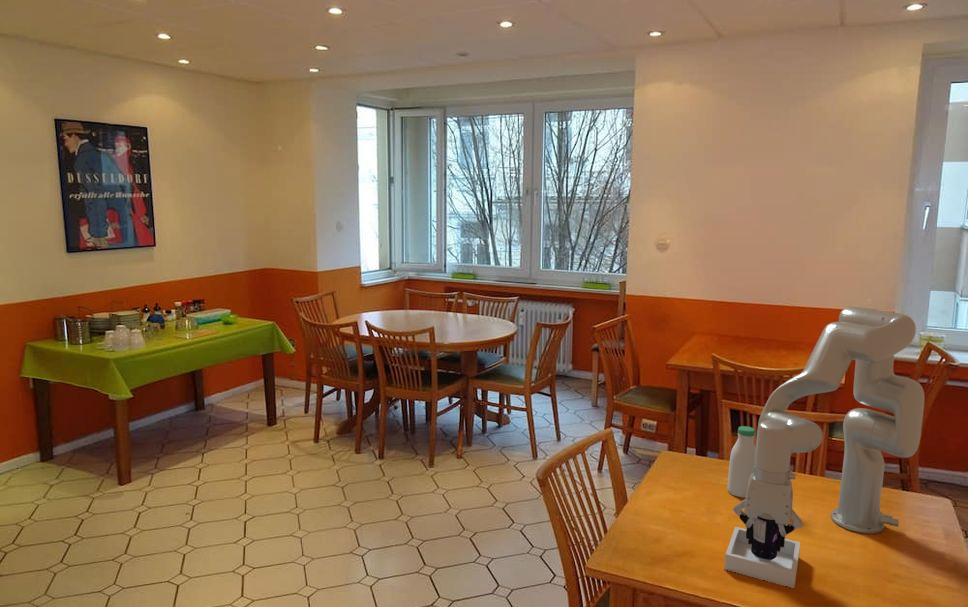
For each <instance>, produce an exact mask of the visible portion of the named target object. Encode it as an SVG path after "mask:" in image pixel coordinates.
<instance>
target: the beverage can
mask: <svg viewBox="0 0 968 607" xmlns="http://www.w3.org/2000/svg"><path fill="white" fill-rule="evenodd" d="M779 531H780V530H779V527H778V524H777V523H776V522H775V520H774V518H772V517H771V514H766V513H762V515H759V516H758V517H757V519H755V520H754V522H753V535H752V546H751V552H752V553H753V554H754V556H755V557H756V558H758V559H760V560H763V561H771V560H773V559H774V558H776V557H777V541H778V534H779Z"/></svg>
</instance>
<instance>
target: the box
mask: <svg viewBox="0 0 968 607" xmlns="http://www.w3.org/2000/svg"><path fill="white" fill-rule="evenodd" d="M746 530H747V528H743V527H738V526H735V527H734V529H733V532H732V535H731V538H730V541H729V544H728V546H727V548H726V552H725V558H724V571H727V570H728V572H730V571H732V572H731V573H734V572H736V573H735V574H738V573H739V575H741V574H742V576H745V575H746V577H749V576H750V578H752V577H754V578H753V579H756V578H757V579H758V580H761V581H763V580H765V582H767V581H768V583H771V582H772V583H771V584H774V583H776V584H775V585H778V584H780V585H779V586H782V585H784V586H783V587H785V586H788V587H787V588H789V587H791V588H790V589H793V588H794V589H795V586H796V579H797V573H798V565H799V559H800V558H799V557H800V551H801V550H800V549H801V541H797V540H792V539H788V538H785V542H784V548H783V547H781V549H780V552H779V551H777V557H776V558H774V559H773V560H771V561H763V560H760V559H758V558H756V557H755V556H754V554H753V553H752V552H751V546H752V544H748V540H749V539H747V538H746Z"/></svg>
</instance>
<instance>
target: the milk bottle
mask: <svg viewBox="0 0 968 607" xmlns="http://www.w3.org/2000/svg"><path fill="white" fill-rule="evenodd" d="M737 435H738V436H737V440H736V442H735V444H734V445H733V447H732V448H731V451H730V458H729V465H728V476H727V491H728V493H729V494H731V495H732V496H734V497H736V498H737V497H738V498H742V499H745V498H746V492H747V486H748V482H749V478H750V475H751V474H752V473H754V464H755V453H756V444H755V440H754V439H755V435H756V430H755V428H753V427H751V426H746V425H745V426H744V425H742V426H738V429H737Z"/></svg>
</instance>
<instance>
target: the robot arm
mask: <svg viewBox="0 0 968 607" xmlns="http://www.w3.org/2000/svg"><path fill="white" fill-rule="evenodd" d="M916 332H917V326H916V323H915V321H914V320H913V319H912V317H910V316H909V315H906V314H904V313H898V312H891V311H886V310H881V309H880V310H879V309H874V308H868V307H861V306H848V307H845V308H844V309H842V310H841V311H840V312H839V316H838V321H834V322H833V321H832V322H831V323H828V324H827V325H825V327H824V328H823V329H822V332H821V334H820V336H819V338H818V340H817V341H816V344H815V345H814V348H813V350H812V351H811V354H810V356H809V358H808V360H807V362H806V363H805V366H804V368H803V370H802V371H801V372H800V373H799V374H797V375H796V376H794V377H792V378H790V379H788V380H786V381H785V382H784V383H782V384H781V385H779V386H778V387H777V388H776V389H774V391H772V393H771V394H770V395H769V396H768V399H767V401H766V403H765V404H764V407H763V409H762V410H761V412H760V413H761V414H760V415H759V419H758V423H757V424H758V425H757V431H756V442H755V447H756V453H755V464H754V473H752V474H751V475H750V478H749V482H748V486H747V492H746V498H743V500H741V501H740V502H739V503H737V504H735V505H734V506H733V508H732V510H733V512H734V513H735V514H736V515H737V517H739V519H740V521H741V522H742V523H743V524H744V526H745V527H746V529H747V530H746V538H747V539H749V540H748V544H752V535H753V523H754V520H755V519H757V517H758V516H759V515H762V513H766V514H771V517H772V518H774V520H775V522H776V523H777V524H778V527H779V534H778V541H777V551H779V552H780V549H781V547H783V548H784V542H785V539H786V536H787V535H789V534H790V533H792V532H794V531H795V530H797V529H799V528H801V527H802V526H803V524H804V523H803V520H802V519H801V518H800V517H799V515H798V514H797V512H795V510H794V509H793V502H794V501H793V500H794V499H793V496H794V489H793V482H792V480H796V476H797V474H796V473H794V472H791V471H792V470H790V466H791V458H792V457H791V456H792V454H794V453H800V454H801V453H808V452H809V453H810V452H812V451H814V450H816V449H817V448H818V447H819V446H820V445H821V444H822V442H823V440H824V439H823V438H824V435H823V434H824V433H823V431H822V428H821V427H820V426H819V425H818V424H817V423H815V422H814V421H812V420H808V419H806V418H802V417H800V416H797V415H795V414H791V413H787V412H786V410H787V408H789V406H790V405H791V404H793V402H794V401H796V400H798V399H801V398H803V397H806V396H812V395H816V394H823V393H829V392H833V391H836V390H838V389H839V388H840V386H841V384H842V382H843V380H844V377H845V375H846V373H847V372H848V369H849V367H850V365H851V363H852V361H855V364H854V365H855V366H854V377H853V378H854V379H853V389H852V390H853V396H854V400H855V401H857V402H858V403H859V404H862V405H864V406H867V407H871V408H874V409H878V410H880V411H884V412H880V411H876V410H873V409H871V408H865V407H864V408H863V407H862V408H861V407H857V408H853V409H851V410H849V411H848V412H847V413H846V414H845V416H844V420H843V426H842V429H843V437H844V438H843V439H844V454H843V462H842V471H841V472H842V473H841V481H840V488H839V497H838V505H837V506H838V507H837V508H835V509H833V510H831V512H830V518H831V520H832V522H834V523H835V524H836V525H838V526H840V527H842V528H844V529H846V530H849V531H853V532H854V533H855V532H856V533H860V534H878V533H880V532H883V530H884V528H885V525H889V526H892V527H899V520H900V519H898V518H895V517H894V516H893V514H885V513H883V512H882V511H881V507H880V506H881V498H882V489H883V482H884V472H885V460H884V457H883V456H884V455H882V452H883V453H885V454H888V455H891V456H895V457H899V458H911V457H912V456H913V455H915V453H916V452H917V451H918V449H919V446H920V441H921V436H922V427H923V418H924V410H925V392H924V388H923V386H922V385H921V383H919V381H916V380H915V379H912V378H909V377H906V376H901V375H897V374H895V372H894V362H895V355H896V354H898V353H899V352H901V351H903V350H904V349H906V348H907V347H909V345H910V344H911V343H912V342H913V340H914V338H915V336H916ZM885 412H888V413H892V414H893V415H890V414H887V413H885ZM743 510H744V511H743ZM791 520H792V521H793V522H792V523H790V522H791Z"/></svg>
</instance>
